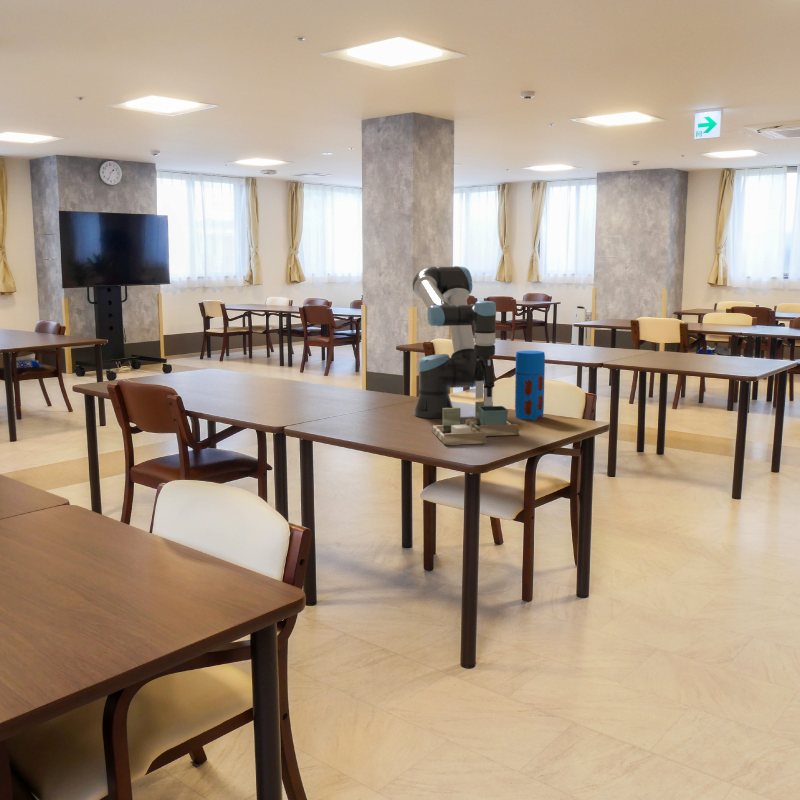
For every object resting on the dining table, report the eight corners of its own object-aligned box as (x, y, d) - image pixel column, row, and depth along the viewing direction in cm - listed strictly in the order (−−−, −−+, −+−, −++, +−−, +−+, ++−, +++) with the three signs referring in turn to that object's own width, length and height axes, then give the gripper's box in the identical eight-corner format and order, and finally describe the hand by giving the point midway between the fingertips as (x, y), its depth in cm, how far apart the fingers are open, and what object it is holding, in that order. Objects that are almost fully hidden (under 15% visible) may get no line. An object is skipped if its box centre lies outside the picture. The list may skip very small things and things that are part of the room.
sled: (432, 430, 292) (431, 408, 291) (469, 429, 294) (469, 407, 293) (444, 444, 270) (444, 420, 269) (485, 443, 272) (485, 419, 270)
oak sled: (465, 423, 305) (465, 402, 304) (501, 422, 307) (501, 400, 306) (480, 436, 283) (480, 413, 282) (518, 434, 285) (519, 411, 283)
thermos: (549, 417, 318) (550, 352, 314) (530, 420, 311) (531, 354, 307) (527, 413, 326) (529, 350, 322) (509, 416, 320) (510, 352, 315)
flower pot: (508, 435, 285) (508, 410, 283) (482, 436, 284) (483, 410, 282) (502, 430, 293) (502, 405, 292) (477, 431, 292) (478, 406, 291)
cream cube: (451, 440, 279) (451, 425, 278) (464, 439, 280) (464, 424, 280) (456, 443, 274) (456, 428, 273) (470, 442, 276) (470, 427, 275)
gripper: (466, 340, 312) (466, 395, 316) (482, 349, 288) (481, 409, 292) (486, 339, 313) (485, 395, 317) (503, 348, 289) (502, 408, 293)
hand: (483, 401), depth 304 cm, fingers open, 13 cm apart
